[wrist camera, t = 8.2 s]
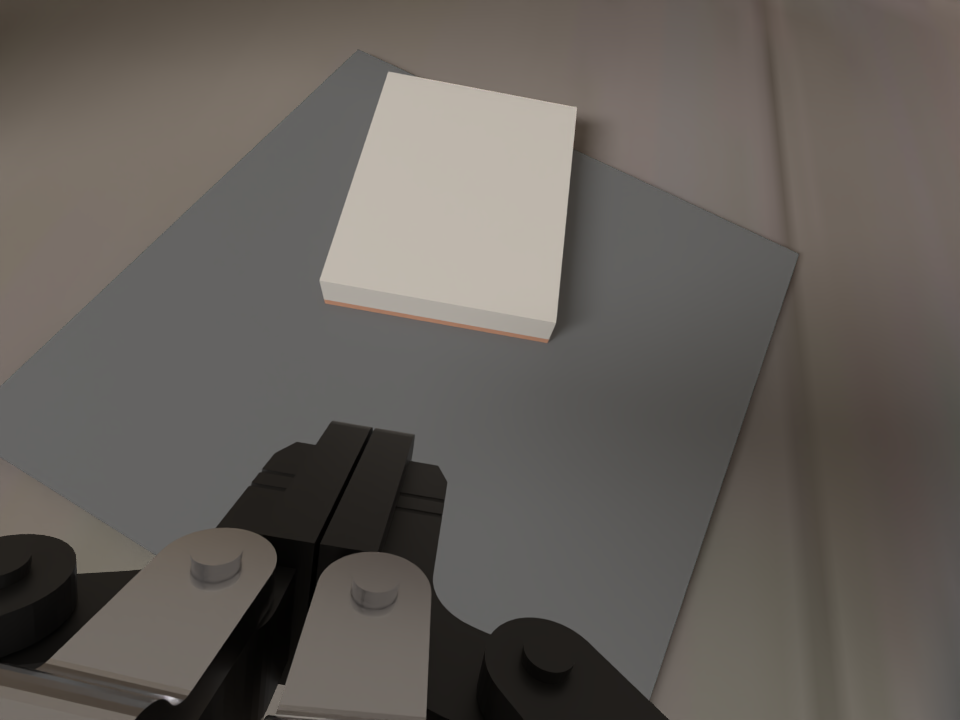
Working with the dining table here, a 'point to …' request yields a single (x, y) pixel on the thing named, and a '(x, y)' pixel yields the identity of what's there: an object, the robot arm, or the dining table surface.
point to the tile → (457, 210)
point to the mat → (423, 384)
